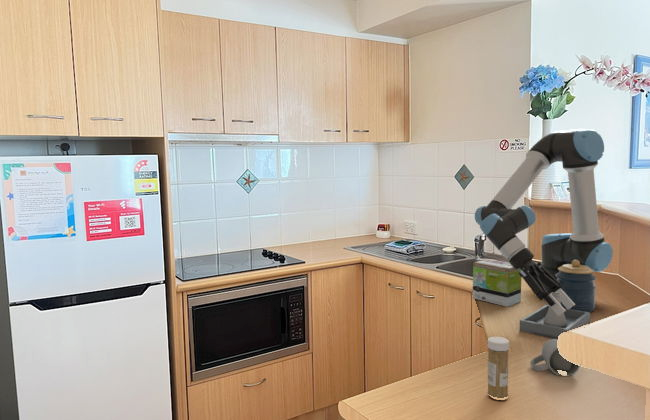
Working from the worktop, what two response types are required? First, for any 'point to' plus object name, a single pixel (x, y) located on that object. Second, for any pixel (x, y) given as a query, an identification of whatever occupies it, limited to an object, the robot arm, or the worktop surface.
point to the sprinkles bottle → (498, 367)
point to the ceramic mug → (553, 360)
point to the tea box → (496, 282)
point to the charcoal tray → (537, 326)
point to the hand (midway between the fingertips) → (566, 310)
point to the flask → (555, 315)
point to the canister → (578, 285)
